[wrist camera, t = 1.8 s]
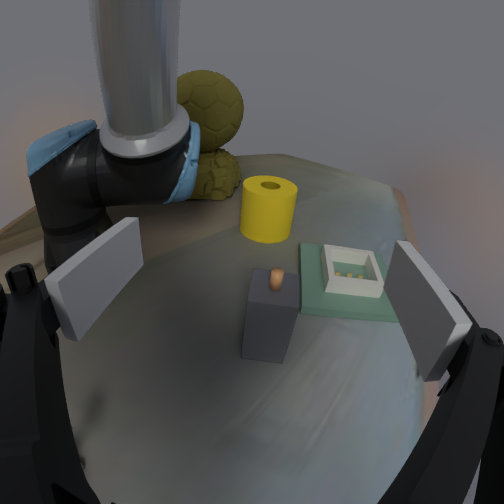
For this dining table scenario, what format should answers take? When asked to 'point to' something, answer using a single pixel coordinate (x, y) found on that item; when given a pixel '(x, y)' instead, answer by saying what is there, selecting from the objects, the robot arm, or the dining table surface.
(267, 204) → the yellow hollow cylinder
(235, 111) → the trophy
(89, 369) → the dining table surface
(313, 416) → the dining table surface
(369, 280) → the board
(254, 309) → the plug
